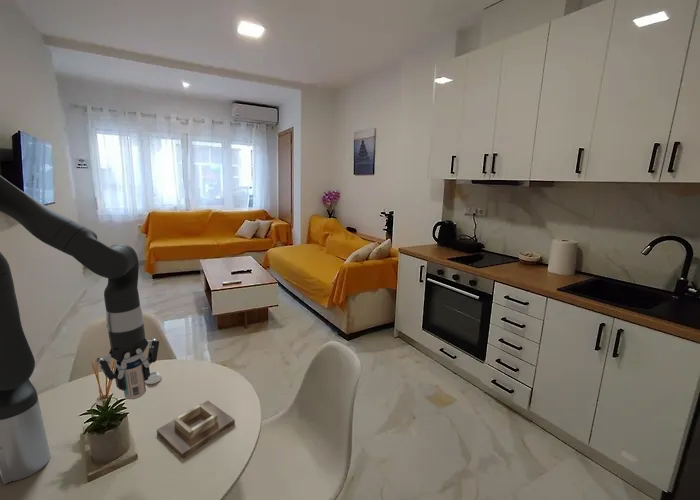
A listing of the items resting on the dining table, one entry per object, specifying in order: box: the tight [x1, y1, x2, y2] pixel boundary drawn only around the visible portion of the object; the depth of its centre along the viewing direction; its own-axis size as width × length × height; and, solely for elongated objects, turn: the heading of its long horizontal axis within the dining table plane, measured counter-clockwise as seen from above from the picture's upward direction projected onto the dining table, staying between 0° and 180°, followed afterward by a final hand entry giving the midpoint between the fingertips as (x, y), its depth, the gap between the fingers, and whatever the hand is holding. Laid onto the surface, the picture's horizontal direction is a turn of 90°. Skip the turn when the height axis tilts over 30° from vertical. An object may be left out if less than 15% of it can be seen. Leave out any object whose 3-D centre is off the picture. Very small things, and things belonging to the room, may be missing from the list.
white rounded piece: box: [145, 370, 162, 385], centre depth 121 cm, size 5×3×5 cm
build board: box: [156, 400, 236, 459], centre depth 99 cm, size 16×14×4 cm
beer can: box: [120, 354, 147, 400], centre depth 88 cm, size 5×5×12 cm
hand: (134, 383), depth 89 cm, fingers closed on beer can, 4 cm apart
